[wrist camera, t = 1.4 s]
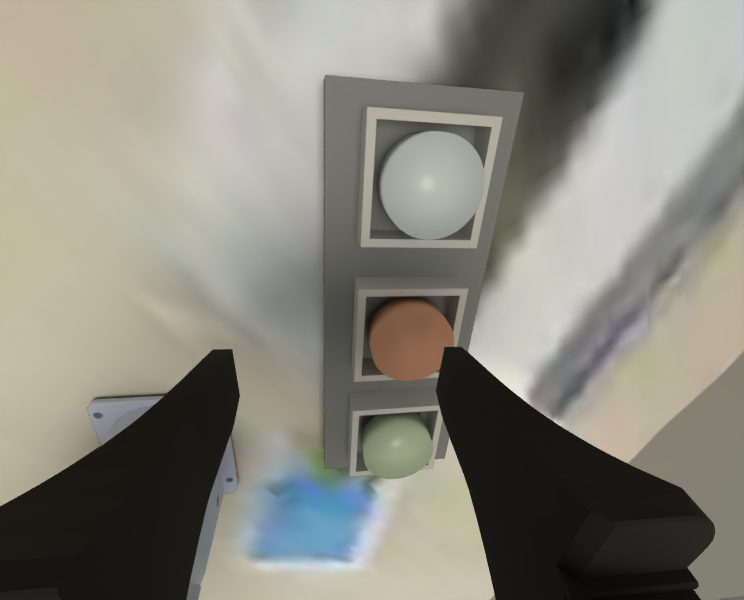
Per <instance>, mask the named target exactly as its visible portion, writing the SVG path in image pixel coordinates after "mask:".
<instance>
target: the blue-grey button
mask: <svg viewBox="0 0 744 600" xmlns="http://www.w3.org/2000/svg"><path fill="white" fill-rule="evenodd" d="M484 186H485V174H484V168H483V164H482V161H481V159H480V156H479V155H478V153H477V151H476V150H475V149H474V147H473V146H472V145H471V144H470V143H469V142H468V141H466V140H465V139H464V138H462V137H460V136H458V135H456V134H453V133H449V132H441V131H419V132H415V133H412V134H410V135H407V136H405V137H404V138H402V139H401V140H399V141H398V142H397V143H396V144H395V145H394V146H393V147H392V148H391V149H390V150H389V152H388V153H387V154H386V156H385V158H384V160H383V161H382V164H381V167H380V170H379V174H378V181H377V189H378V196H379V200H380V202H381V205H382V207H383V209H384V211H385V212H386V213H387V215H388V216H389V217H390V219H391V220H392V221H393V222H394V223H395V225H396V226H397V227H398V228H399V229H400V230H402V231H403V232H404V233H406V234H408V235H410V236H412V237H415V238H418V239H424V240H434V239H440V238H443V237H447V236H449V235H451V234H453V233H455V232H456V231H458V230H459V229H461V228H462V227H463V226H464V225H465V224H466V223H467V222H468V221H469V220H470V219H471V218H472V217H473V215H474V214H475V212H476V210H477V209H478V207H479V205H480V202H481V199H482V196H483V192H484Z"/></svg>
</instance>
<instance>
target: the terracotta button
mask: <svg viewBox="0 0 744 600" xmlns="http://www.w3.org/2000/svg"><path fill="white" fill-rule="evenodd" d="M368 341H369V345H370V349H371V353H372V357H373V360H374V363H375V365H376V367H377V368H378V369H379V370H380V371H381V372H382V373H383V374H384V375H386V376H388V377H390V378H392V379H395V380H399V381H414V380H419V379H422V378H425V377H427V376H430V375H431V374H433V373H435V372H436V371H438V370H439V369H440V367H441V362H442V357H443V352H444V347H454V334H453V331H452V328H451V326H450V325H449V323H448V322H447V320H446V319H445V317H444V316H443V314H442V313H441V311H440V310H439V309H438V307H437V306H436V305H435V304H434V303H432V302H431V301H429V300H427V299H424V298H421V297H416V296H407V297H401V298H397V299H395V300H392V301H390V302H388V303H387V304H385V305H384V306H382V307H381V308H380V309H379V310H378V311H377V312H376V313H375V315H374V316H373V318H372V319H371V322H370V324H369V327H368Z"/></svg>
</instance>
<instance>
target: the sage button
mask: <svg viewBox="0 0 744 600" xmlns="http://www.w3.org/2000/svg"><path fill="white" fill-rule="evenodd" d="M361 443H362V450H363V456H364V462H365V466H366V468H367V469H368V470H369V471H370V472H371V473H372V474H374V475H375V476H378V477H381V478H386V479H397V478H403V477H407V476H409V475H412V474H414V473H416V472H418V471H419V470H421V469H422V468H423V467H424V466H425V465H426V464H427V463H428V462H429V460H430V459H431V457H432V454H433V443H432V440H431V438H430V435H429V432H428V430H427V427H426V424H425V422H424V420H423V419H422V418H421V417H420V416H419V415H418V414H416V413H414V412H407V413H392V414H379V415H377V416H376V417H374V418H373V419H371V420H370V421H369V422H368V423H367V424H366V426H365V427H364V429H363V431H362V434H361Z"/></svg>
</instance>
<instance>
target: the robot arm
mask: <svg viewBox="0 0 744 600" xmlns="http://www.w3.org/2000/svg"><path fill="white" fill-rule="evenodd" d="M436 394H437V398H438V403H439V407H440V411H441V415H442V418H443V421H444V424H445V426H446V429H447V432H448V434H449V437H450V440H451V442H452V445H453V447H454V450H455V453H456V455H457V458H458V461H459V463H460V466H461V468H462V471H463V474H464V476H465V479H466V482H467V485H468V488H469V492H470V495H471V499H472V503H473V506H474V510H475V514H476V517H477V521H478V525H479V529H480V533H481V537H482V541H483V545H484V549H485V553H486V558H487V562H488V567H489V571H490V575H491V580H492V584H493V589H494V593H495V598H496V600H701V599H700V598H699V597H698V595H697V594H696V593H695V591H694V590H693V589H696V588H697V587H698V586H699V585H698V581H697V580H696V579H695V578H694V576H693V575H692V573H691V572H690V571H689V569H688V568H687V567H688V566H689V565H690V564H691V563H692V562H693V561H694V560H695V559H696V558H697V557H698V556H699V555H700V554H701V553H702V552H703V551H704V550H705V549H706V548H707V547H708V546H709V544H710V543H711V542H712V541H713V538H714V535H715V528H714V524H713V522H712V521H711V520H710V519H709V518H708V517H707V516H706V514H705V513H704V512H703V511H702V510H701V509H700V508H699V507H698V506H697V505H696V503H695V502H694V501H693V500H692V499H691V498H690V497H689V496H688V494H687V493H686V492H685V491H684V490H683V489H682V488H680V487H678V486H676V485H673V484H671V483H669V482H667V481H665V480H662V479H660V478H658V477H655V476H653V475H651V474H649V473H646V472H644V471H642V470H640V469H637V468H635V467H633V466H631V465H629V464H627V463H625V462H623V461H621V460H619V459H617V458H615V457H613V456H611V455H609V454H607V453H605V452H604V451H602V450H600V449H598V448H596V447H594V446H593V445H591V444H589V443H587V442H586V441H584V440H582V439H581V438H579V437H577V436H575V435H574V434H572V433H570V432H569V431H567V430H565V429H564V428H562V427H561V426H559V425H558V424H556V423H555V422H553V421H552V420H550V419H549V418H547V417H546V416H544V415H543V414H541V413H540V412H538V411H537V410H536V409H534V408H533V407H532V406H530V405H529V404H528V403H526V402H525V401H524V400H523V399H521V398H520V397H519V396H517V395H516V394H515V393H514V392H512V391H511V390H510V389H509V388H508V387H506V386H505V385H504V384H503V383H502V382H500V381H499V380H498V379H497V378H496V377H495V376H494V375H492V374H491V373H490V372H489V371H488V370H487V369H486V368H485V367H484V366H482V365H481V364H480V363H479V362H478V361H477V360H476V359H475V358H474V357H473V356H471V355H470V354H469V353H468V352H467V351H466V350H465V349H463V348H462V347H444V352H443V357H442V362H441V367H440V372H439V377H438V382H437V386H436ZM239 397H240V394H239V388H238V382H237V376H236V370H235V364H234V357H233V351H232V349H224V350H212V351H211V352H210V353H209V354H208V355H207V356H206V357H205V358H203V359H202V360H201V361H200V362H199V363H198V364H197V365H196V366H195V367H194V368H193V369H192V370H191V371H190V372H189V373H188V374H187V375H186V376H185V377H184V378H183V379H182V380H181V381H180V382H179V383H178V384H177V385H176V386H175V387H173V388H172V389H171V390H170V391H169V392H168V393H167V394H166V395H165V396H150V397H131V398H112V399H96V400H92V401H91V402H90V403H89V404H88V406H87V411H88V413H89V416H90V418H91V421H92V423H93V426H94V428H95V431H96V434H97V436H98V439H99V441H100V445H99V446H98V448H97V449H95V450H94V451H92V452H91V453H89V454H88V455H86V456H85V457H83V458H82V459H80V460H79V461H77V462H75V463H74V464H72V465H71V466H69V467H68V468H66V469H65V470H63V471H61V472H60V473H58V474H56V475H55V476H53V477H51V478H50V479H48V480H46V481H45V482H43V483H41V484H40V485H38V486H36V487H34V488H33V489H31V490H29V491H27V492H25V493H24V494H22V495H20V496H18V497H17V498H15V499H13V500H11V501H9V502H7V503H6V504H4V505H2V506H0V600H198V598H199V594H200V589H201V586H200V584H201V582H202V579H203V576H204V573H205V570H206V565H207V561H208V557H209V553H210V548H211V544H212V540H213V536H214V531H215V527H216V523H217V519H218V514H219V510H220V506H221V502H222V497H223V493H232V492H235V491H236V490H237V489H238V477H237V471H236V465H235V459H234V452H233V446H232V440H231V432H232V429H233V426H234V422H235V417H236V412H237V407H238V402H239ZM99 413H101V414H99ZM717 600H744V596H740V597H731V598H722V599H717Z"/></svg>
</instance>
